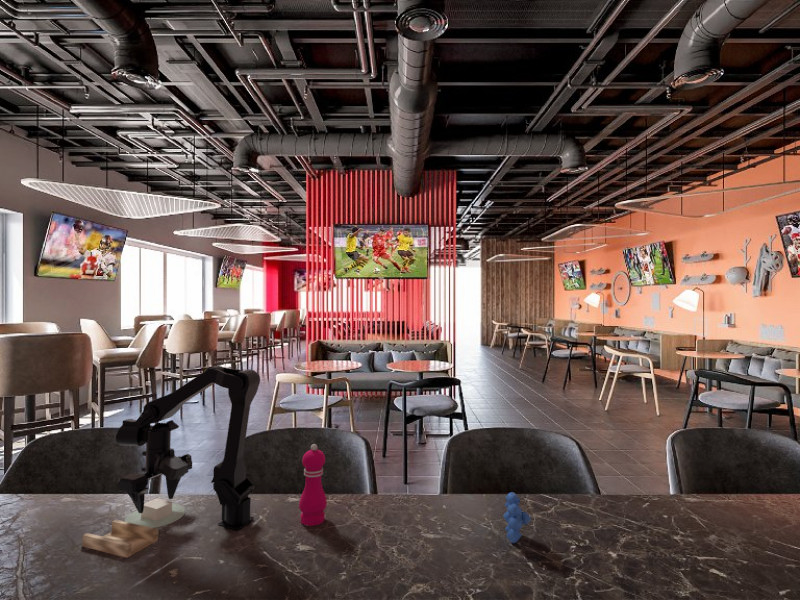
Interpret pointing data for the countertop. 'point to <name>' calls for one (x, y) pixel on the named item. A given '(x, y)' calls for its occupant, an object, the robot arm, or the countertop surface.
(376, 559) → the countertop surface
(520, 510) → the grapes
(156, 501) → the cream block
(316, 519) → the pepper mill
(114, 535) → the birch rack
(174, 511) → the green plate
